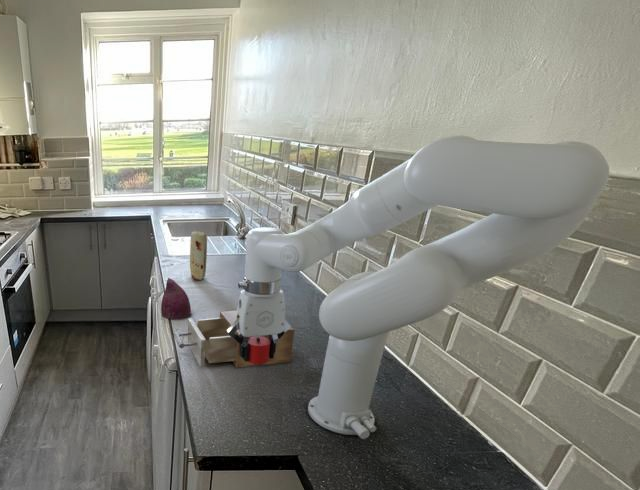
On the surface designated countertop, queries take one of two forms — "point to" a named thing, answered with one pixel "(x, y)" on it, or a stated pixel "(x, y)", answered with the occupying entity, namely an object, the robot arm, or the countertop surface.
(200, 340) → the drawer
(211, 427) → the countertop surface
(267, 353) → the red cylinder
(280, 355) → the cabinet
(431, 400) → the countertop surface
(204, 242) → the food model
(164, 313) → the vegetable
